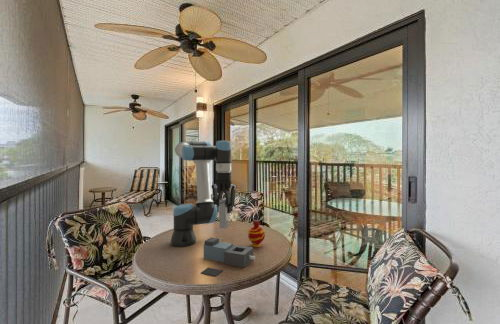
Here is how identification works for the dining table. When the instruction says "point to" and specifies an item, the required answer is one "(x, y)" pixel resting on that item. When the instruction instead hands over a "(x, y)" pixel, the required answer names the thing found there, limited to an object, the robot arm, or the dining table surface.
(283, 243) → the dining table surface
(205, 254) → the block with square socket
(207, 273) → the mat
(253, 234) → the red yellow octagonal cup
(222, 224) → the gray block with peg
